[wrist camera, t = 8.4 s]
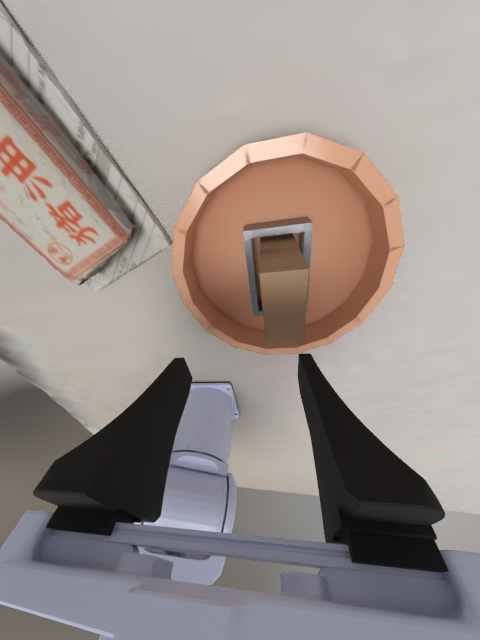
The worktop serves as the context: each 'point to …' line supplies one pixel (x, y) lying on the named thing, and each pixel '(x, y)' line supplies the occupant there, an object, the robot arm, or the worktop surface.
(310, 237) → the hinged hatch frame
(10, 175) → the packaged product
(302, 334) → the wood hatch door
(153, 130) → the worktop surface
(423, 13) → the worktop surface
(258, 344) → the orange round shallow bowl
